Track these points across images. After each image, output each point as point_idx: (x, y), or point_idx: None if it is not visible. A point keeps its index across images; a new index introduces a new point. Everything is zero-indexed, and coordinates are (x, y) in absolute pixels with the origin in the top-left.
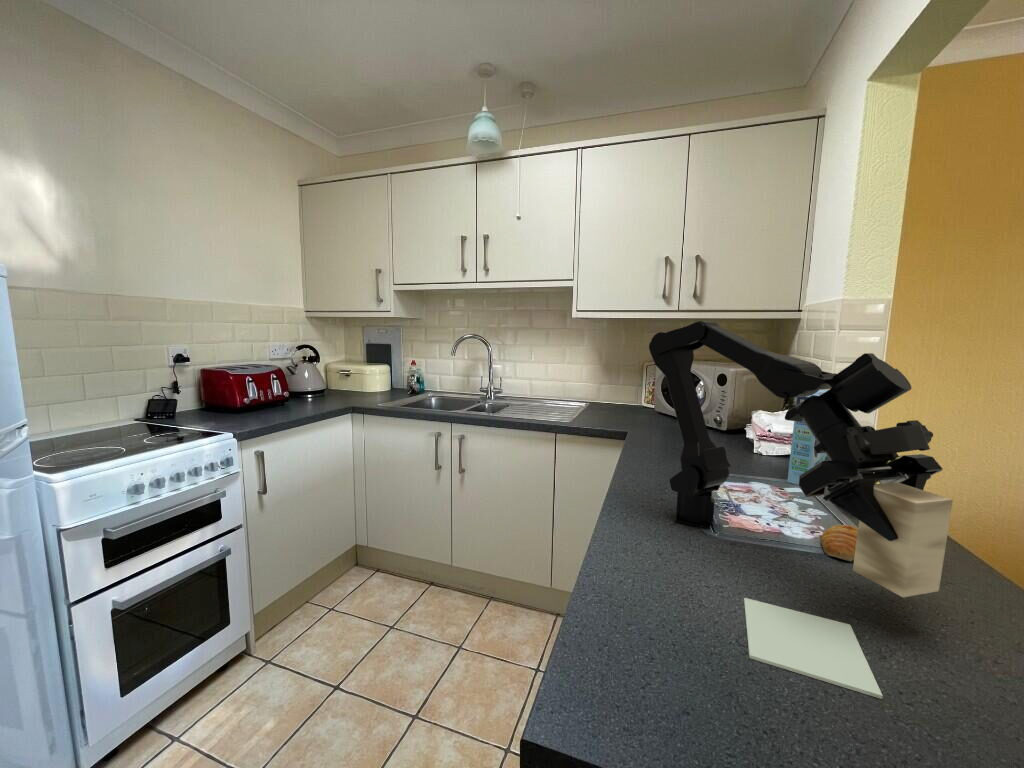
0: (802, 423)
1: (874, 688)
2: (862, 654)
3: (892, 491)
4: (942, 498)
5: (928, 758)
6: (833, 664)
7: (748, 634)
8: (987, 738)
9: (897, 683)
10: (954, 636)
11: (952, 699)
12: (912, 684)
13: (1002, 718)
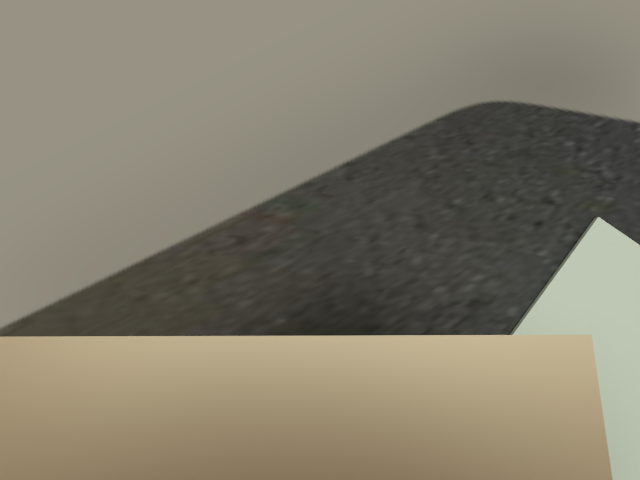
0: None
1: (597, 233)
2: (533, 311)
3: None
4: (68, 390)
5: (626, 121)
6: (632, 302)
7: None
8: (484, 126)
9: (520, 241)
10: (228, 318)
11: (451, 192)
12: (491, 233)
13: (409, 147)
